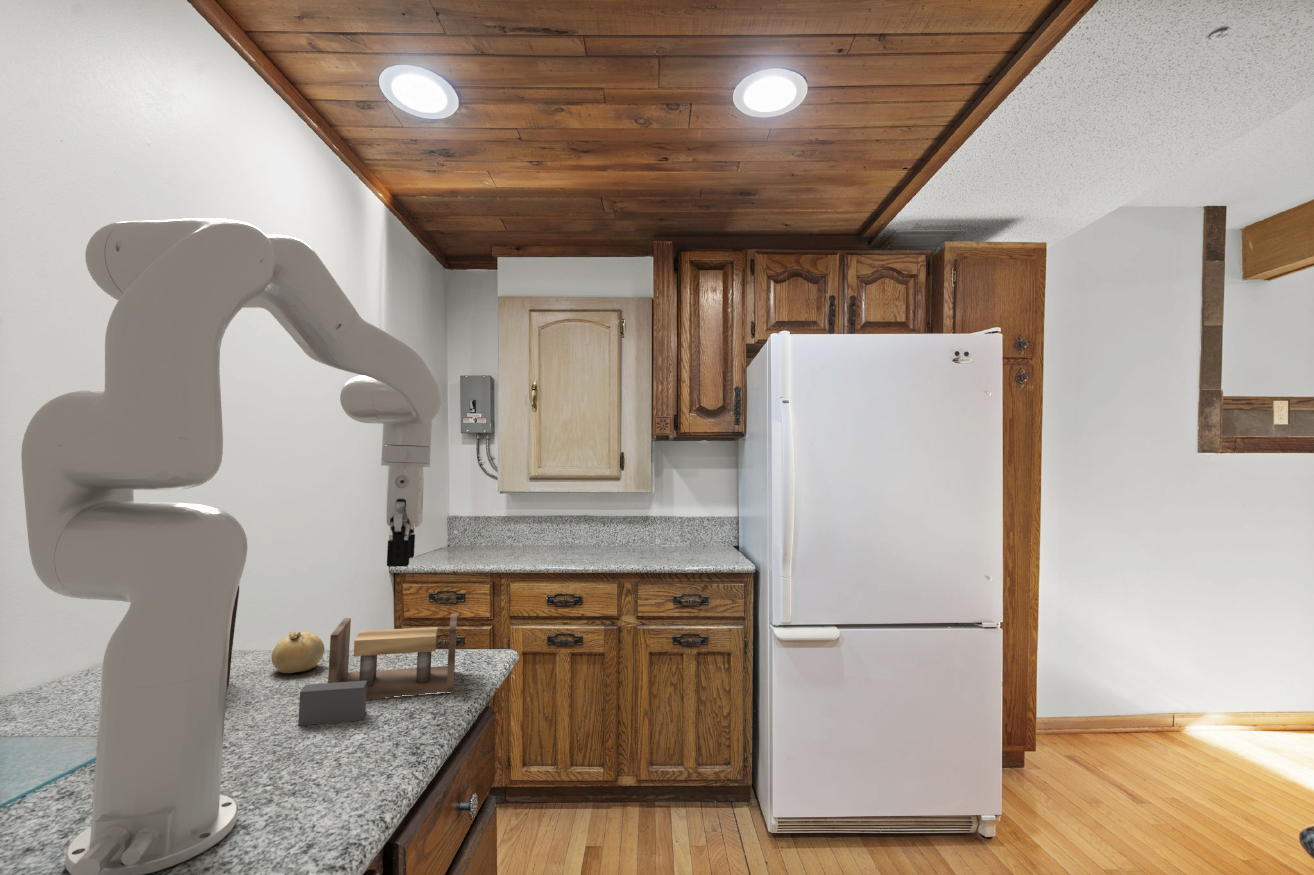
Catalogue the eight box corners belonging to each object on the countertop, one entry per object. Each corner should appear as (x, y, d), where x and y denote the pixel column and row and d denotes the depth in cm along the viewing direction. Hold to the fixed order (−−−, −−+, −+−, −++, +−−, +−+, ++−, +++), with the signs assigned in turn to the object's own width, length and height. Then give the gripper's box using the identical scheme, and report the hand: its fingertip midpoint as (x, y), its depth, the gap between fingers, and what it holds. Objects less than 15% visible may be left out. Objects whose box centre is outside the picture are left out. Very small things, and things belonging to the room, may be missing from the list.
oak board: (435, 651, 100) (436, 636, 100) (353, 656, 96) (354, 640, 97) (436, 641, 106) (437, 627, 106) (359, 645, 102) (360, 630, 102)
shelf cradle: (453, 693, 98) (455, 629, 99) (326, 702, 93) (330, 635, 93) (454, 671, 109) (456, 613, 109) (341, 678, 103) (344, 618, 104)
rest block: (362, 720, 87) (363, 687, 87) (298, 725, 85) (299, 691, 85) (365, 711, 90) (367, 680, 90) (303, 716, 88) (305, 684, 88)
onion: (265, 669, 108) (268, 627, 108) (316, 660, 113) (318, 621, 113) (276, 681, 102) (278, 637, 102) (329, 671, 107) (331, 630, 107)
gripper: (427, 457, 96) (421, 569, 95) (432, 459, 112) (428, 554, 111) (374, 455, 93) (368, 570, 92) (388, 457, 110) (383, 555, 109)
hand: (401, 561), depth 102 cm, fingers open, 9 cm apart
